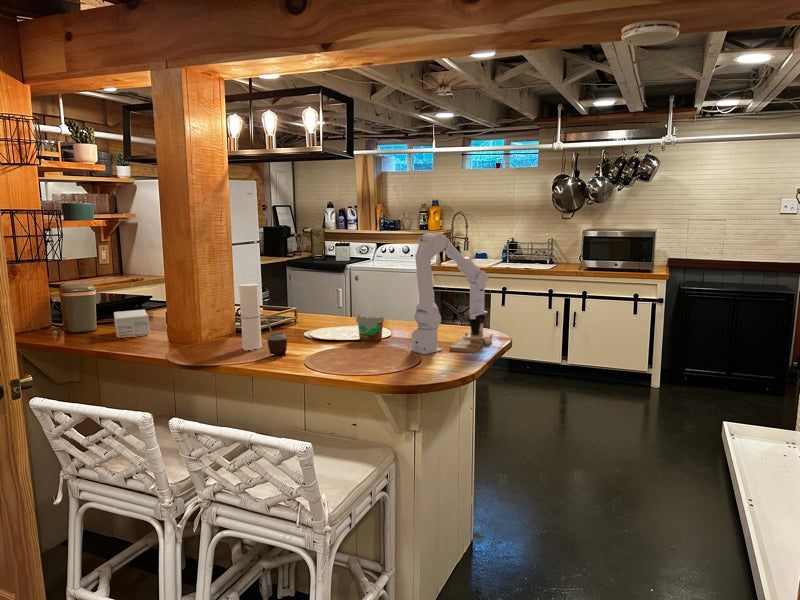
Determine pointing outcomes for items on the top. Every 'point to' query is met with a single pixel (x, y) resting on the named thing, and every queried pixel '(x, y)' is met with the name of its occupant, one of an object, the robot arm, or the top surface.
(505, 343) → the top surface
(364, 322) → the food container
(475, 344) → the walnut board
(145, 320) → the supplement box
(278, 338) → the mate gourd
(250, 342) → the cylindrical container
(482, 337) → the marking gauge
